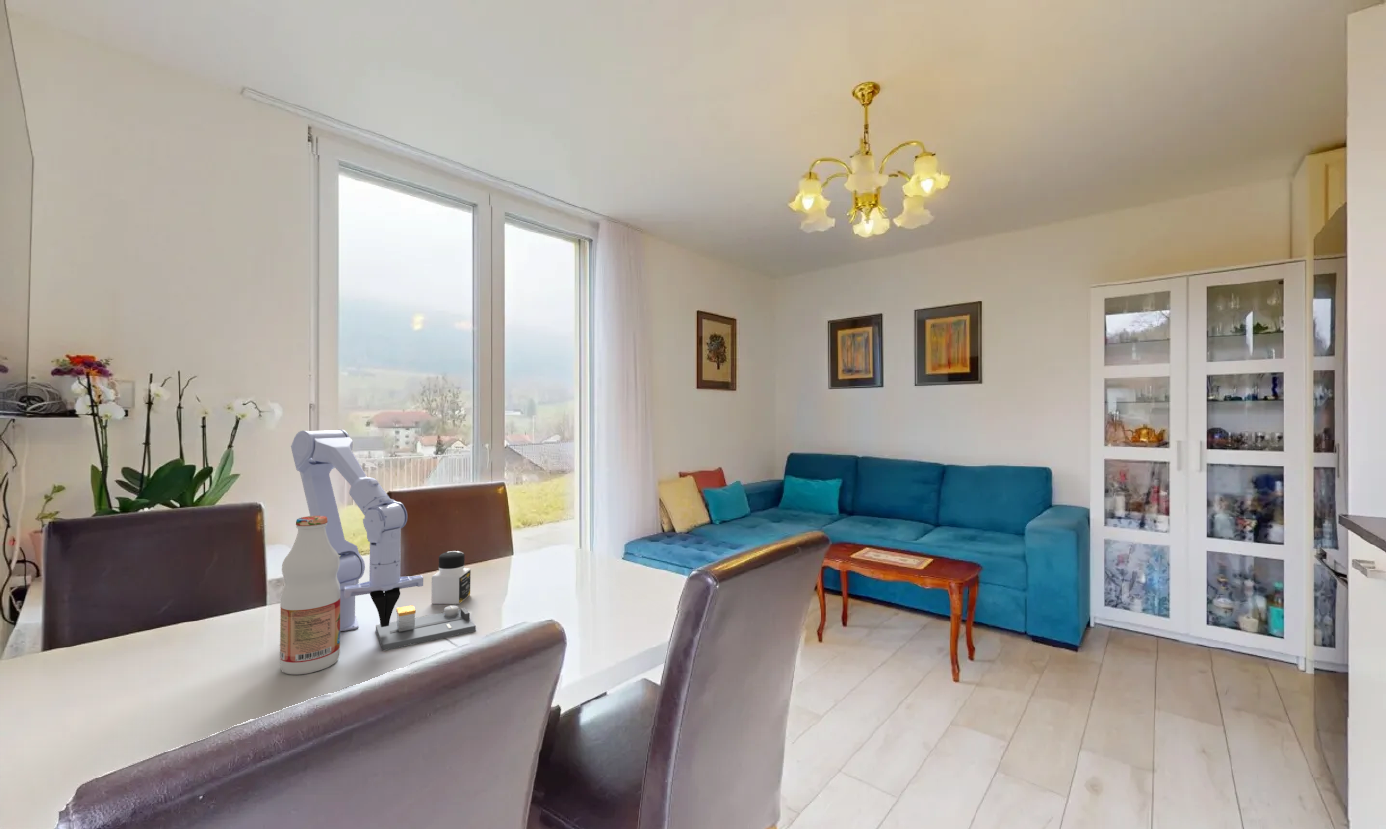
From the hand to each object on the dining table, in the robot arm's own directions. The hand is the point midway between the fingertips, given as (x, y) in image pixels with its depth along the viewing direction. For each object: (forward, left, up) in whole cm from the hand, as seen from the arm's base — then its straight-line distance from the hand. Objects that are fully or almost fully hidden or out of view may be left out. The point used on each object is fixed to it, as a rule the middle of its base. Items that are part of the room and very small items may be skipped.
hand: (384, 625), depth 117 cm
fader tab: (+4, 0, -1) cm, 4 cm away
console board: (+8, 0, -3) cm, 9 cm away
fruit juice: (-13, -5, -3) cm, 14 cm away
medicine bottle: (+17, +18, -3) cm, 25 cm away
